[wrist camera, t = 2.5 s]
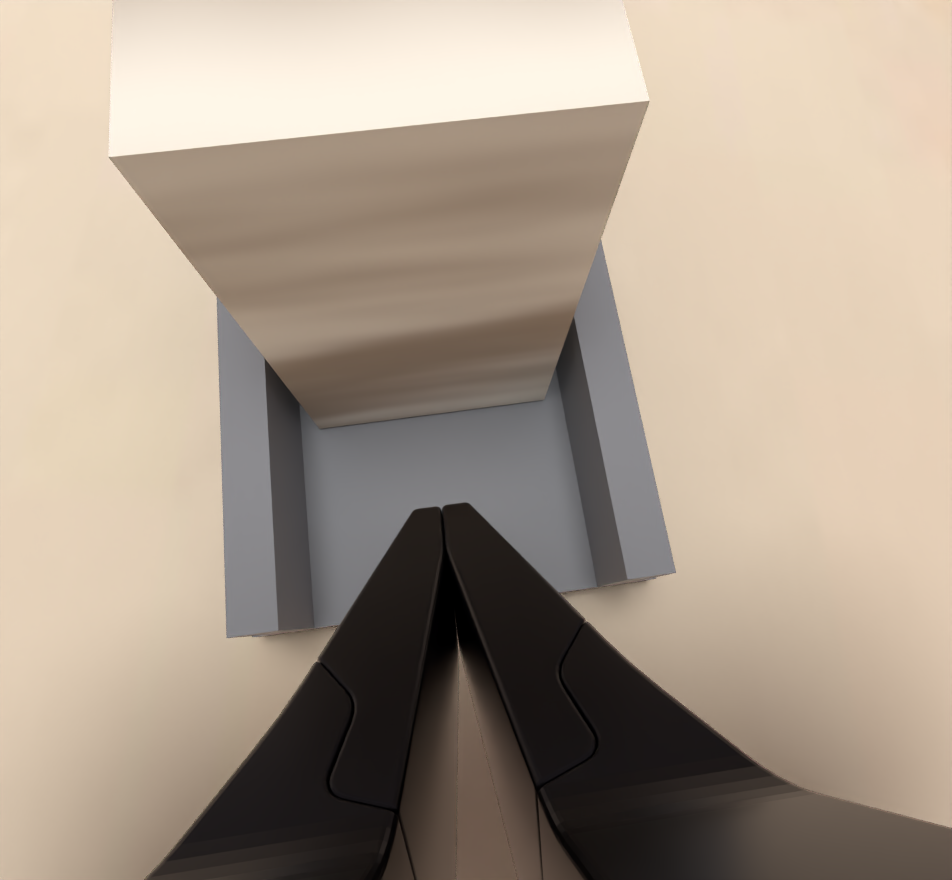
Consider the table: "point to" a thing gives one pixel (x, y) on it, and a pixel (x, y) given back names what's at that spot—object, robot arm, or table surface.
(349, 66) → the cream block
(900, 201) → the table surface
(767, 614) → the table surface
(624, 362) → the gray chute
